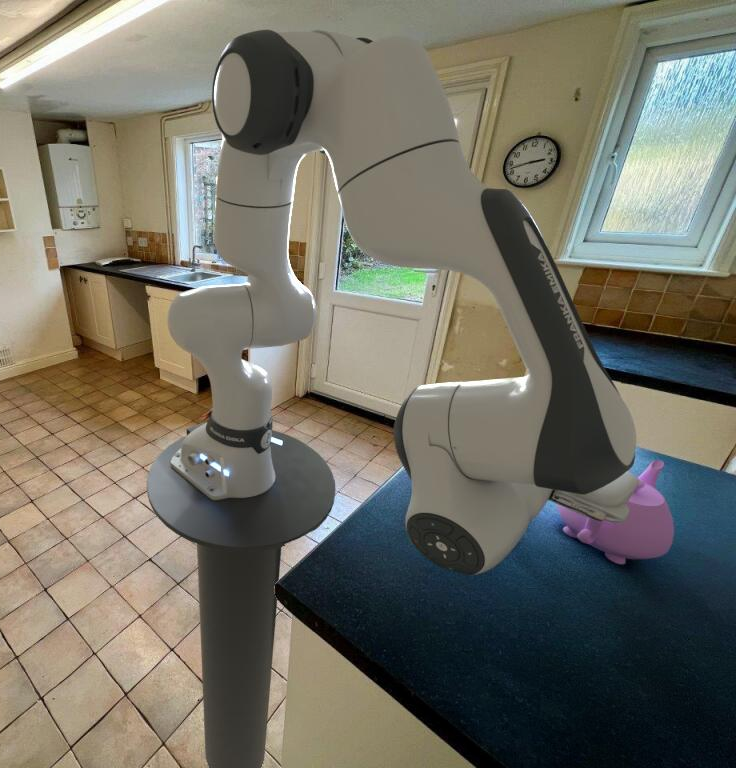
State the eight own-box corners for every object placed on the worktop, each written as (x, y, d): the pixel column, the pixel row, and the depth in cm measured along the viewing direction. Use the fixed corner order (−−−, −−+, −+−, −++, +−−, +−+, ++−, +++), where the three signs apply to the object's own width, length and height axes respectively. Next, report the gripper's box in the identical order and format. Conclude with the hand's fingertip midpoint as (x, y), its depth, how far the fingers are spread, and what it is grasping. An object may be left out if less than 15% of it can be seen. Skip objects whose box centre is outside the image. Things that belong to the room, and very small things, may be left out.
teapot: (586, 493, 80) (612, 439, 75) (685, 543, 69) (724, 484, 64) (527, 529, 72) (552, 471, 67) (628, 593, 61) (668, 529, 55)
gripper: (636, 504, 39) (659, 449, 47) (425, 418, 53) (470, 388, 61) (609, 552, 42) (635, 493, 50) (415, 459, 56) (459, 424, 64)
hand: (543, 434), depth 56 cm, fingers closed on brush, 2 cm apart
